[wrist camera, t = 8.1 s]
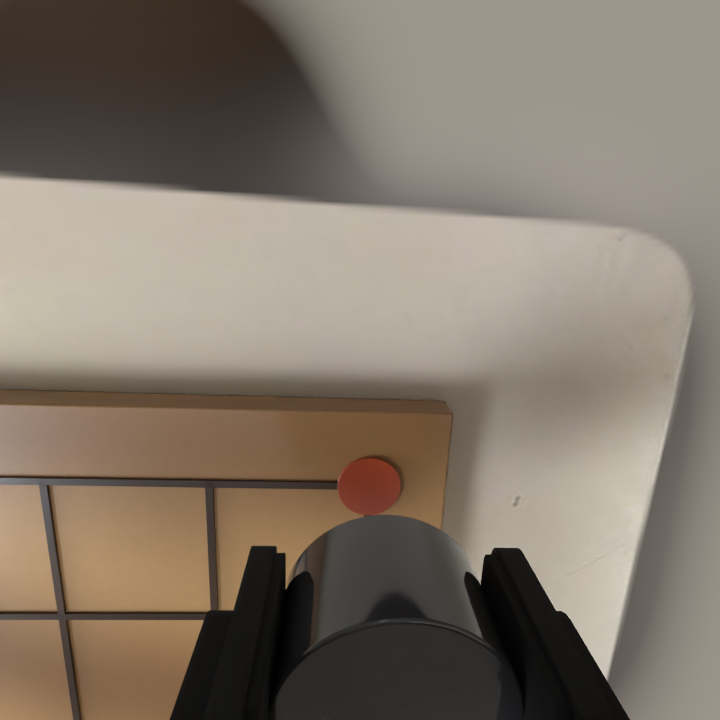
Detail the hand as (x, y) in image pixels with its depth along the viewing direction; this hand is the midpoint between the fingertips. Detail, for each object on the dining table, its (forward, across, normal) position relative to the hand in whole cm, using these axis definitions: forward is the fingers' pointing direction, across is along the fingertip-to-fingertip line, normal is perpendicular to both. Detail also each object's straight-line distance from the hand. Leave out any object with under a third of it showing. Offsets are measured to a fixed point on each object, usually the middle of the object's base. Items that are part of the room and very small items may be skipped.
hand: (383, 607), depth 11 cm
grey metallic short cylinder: (0, 0, 0) cm, 0 cm away
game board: (+6, +8, +7) cm, 12 cm away
